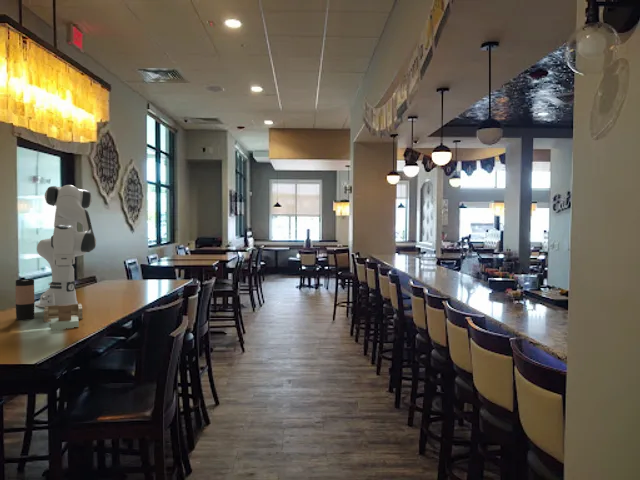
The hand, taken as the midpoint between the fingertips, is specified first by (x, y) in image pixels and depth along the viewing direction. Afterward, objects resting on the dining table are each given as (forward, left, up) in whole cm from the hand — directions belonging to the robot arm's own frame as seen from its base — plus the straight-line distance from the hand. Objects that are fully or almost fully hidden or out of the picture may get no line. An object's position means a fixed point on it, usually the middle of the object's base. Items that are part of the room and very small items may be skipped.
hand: (64, 289), depth 203 cm
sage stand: (0, 0, -17) cm, 17 cm away
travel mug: (-27, +2, -17) cm, 32 cm away
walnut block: (0, 0, -14) cm, 14 cm away
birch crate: (-13, +11, -17) cm, 24 cm away
